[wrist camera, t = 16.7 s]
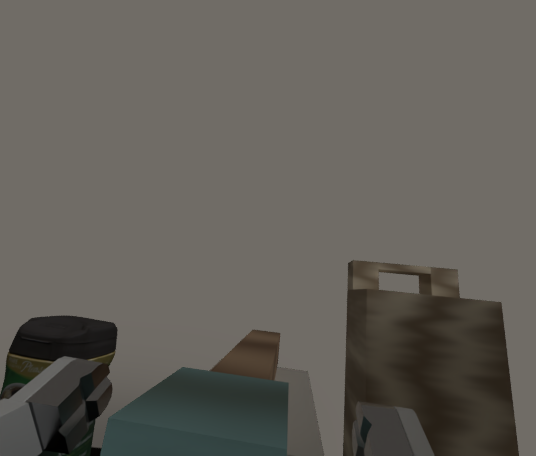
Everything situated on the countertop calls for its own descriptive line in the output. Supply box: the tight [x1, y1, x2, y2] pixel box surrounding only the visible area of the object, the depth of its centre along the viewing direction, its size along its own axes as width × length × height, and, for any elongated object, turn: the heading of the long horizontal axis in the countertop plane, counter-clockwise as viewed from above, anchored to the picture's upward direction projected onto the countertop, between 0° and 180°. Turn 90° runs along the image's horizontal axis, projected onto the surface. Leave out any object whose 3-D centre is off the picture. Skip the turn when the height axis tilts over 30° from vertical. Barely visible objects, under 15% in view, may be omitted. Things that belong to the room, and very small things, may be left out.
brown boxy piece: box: [343, 260, 519, 456], centre depth 26 cm, size 12×9×29 cm
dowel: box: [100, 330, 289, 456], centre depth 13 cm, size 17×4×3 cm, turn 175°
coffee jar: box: [0, 316, 117, 456], centre depth 27 cm, size 10×8×19 cm
